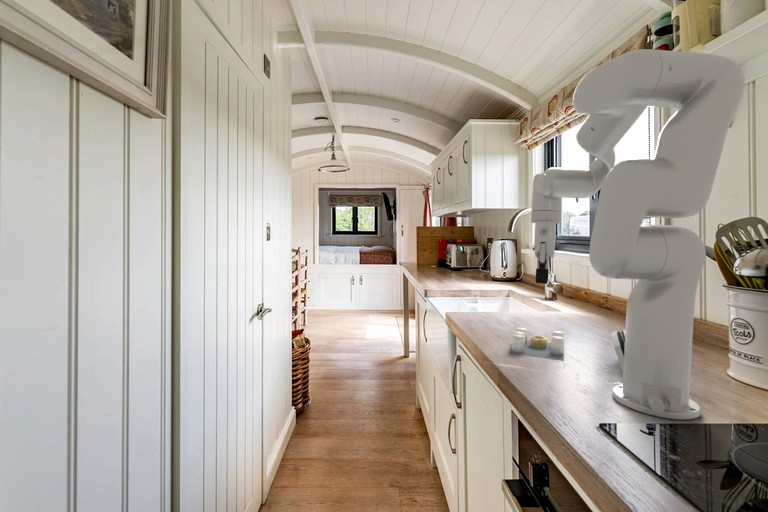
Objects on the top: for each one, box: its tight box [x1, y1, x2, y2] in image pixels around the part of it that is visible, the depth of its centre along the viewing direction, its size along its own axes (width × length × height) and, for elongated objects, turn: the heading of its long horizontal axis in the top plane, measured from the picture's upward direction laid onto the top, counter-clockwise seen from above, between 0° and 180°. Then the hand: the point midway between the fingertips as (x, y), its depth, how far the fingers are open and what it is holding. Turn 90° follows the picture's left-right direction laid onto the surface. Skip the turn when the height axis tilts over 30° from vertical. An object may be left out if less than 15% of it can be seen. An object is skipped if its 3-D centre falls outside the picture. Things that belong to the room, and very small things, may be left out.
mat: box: [509, 339, 565, 362], centre depth 99 cm, size 16×12×1 cm
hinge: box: [611, 329, 626, 372], centre depth 84 cm, size 17×5×10 cm, turn 149°
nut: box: [530, 335, 548, 348], centre depth 101 cm, size 5×4×2 cm
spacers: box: [511, 327, 565, 355], centre depth 98 cm, size 13×12×4 cm
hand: (541, 282), depth 106 cm, fingers closed
